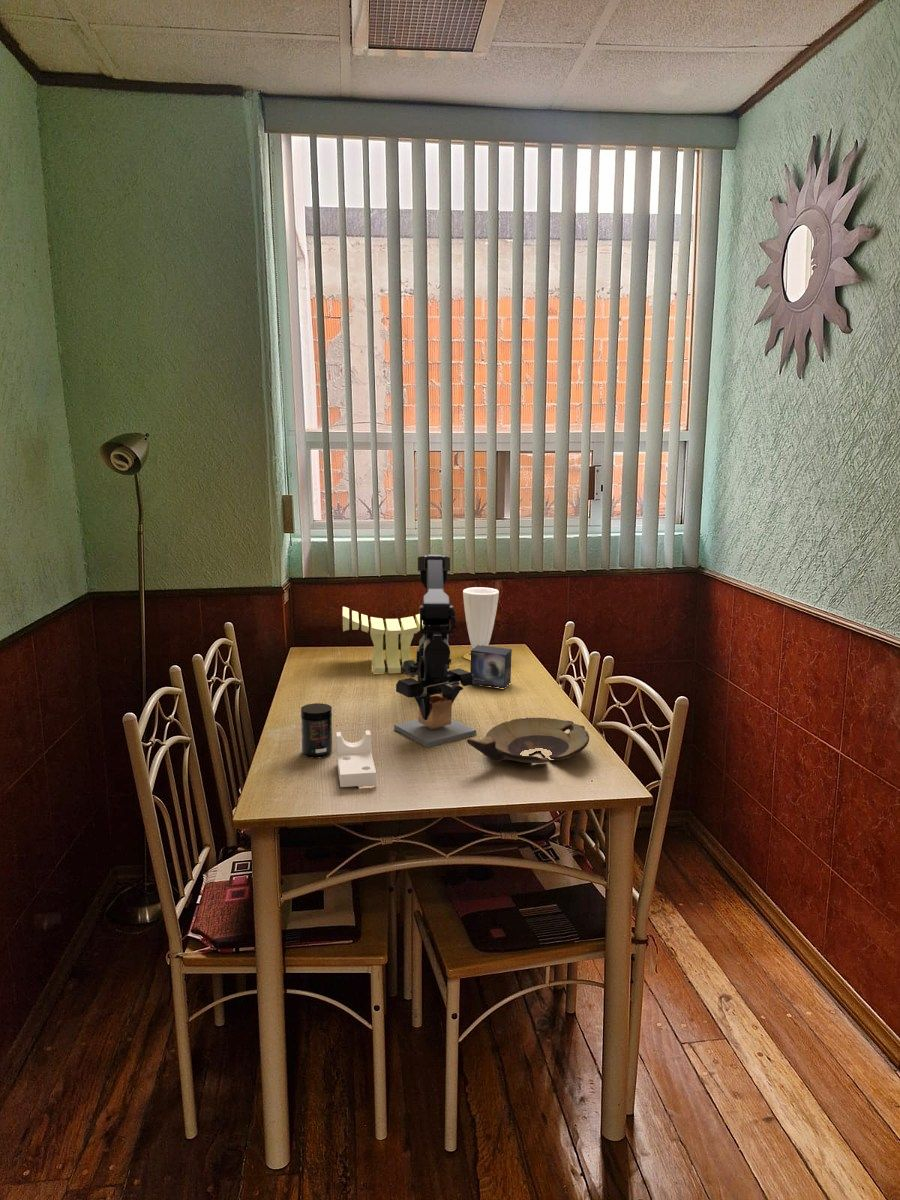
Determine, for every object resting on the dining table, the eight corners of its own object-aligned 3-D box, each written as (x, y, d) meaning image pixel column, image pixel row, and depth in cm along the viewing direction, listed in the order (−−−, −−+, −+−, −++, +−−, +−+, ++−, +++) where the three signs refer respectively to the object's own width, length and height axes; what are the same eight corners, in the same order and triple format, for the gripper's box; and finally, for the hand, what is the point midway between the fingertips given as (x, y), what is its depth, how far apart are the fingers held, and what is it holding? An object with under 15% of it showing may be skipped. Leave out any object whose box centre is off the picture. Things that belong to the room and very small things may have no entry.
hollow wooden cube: (437, 717, 196) (437, 693, 195) (451, 724, 191) (451, 700, 190) (418, 722, 193) (418, 697, 191) (431, 729, 188) (432, 704, 187)
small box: (468, 685, 229) (469, 649, 227) (476, 679, 235) (477, 644, 233) (504, 690, 225) (505, 653, 223) (511, 683, 231) (512, 648, 229)
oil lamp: (608, 770, 172) (610, 736, 170) (472, 782, 165) (473, 747, 163) (568, 733, 193) (570, 702, 192) (446, 742, 186) (447, 711, 185)
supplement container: (325, 745, 183) (324, 701, 181) (337, 755, 178) (337, 710, 176) (297, 751, 180) (295, 706, 178) (308, 761, 174) (307, 715, 172)
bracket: (336, 765, 173) (336, 732, 171) (369, 763, 174) (369, 730, 173) (340, 791, 160) (340, 755, 159) (376, 789, 162) (376, 753, 160)
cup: (498, 661, 254) (500, 594, 249) (461, 661, 254) (462, 593, 249) (496, 652, 265) (498, 587, 261) (461, 651, 265) (462, 586, 261)
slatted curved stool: (438, 658, 257) (439, 603, 253) (444, 672, 241) (445, 614, 238) (343, 660, 253) (342, 604, 249) (343, 674, 237) (342, 615, 234)
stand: (441, 718, 202) (441, 698, 201) (476, 734, 191) (476, 713, 190) (393, 729, 194) (394, 708, 193) (427, 747, 183) (427, 725, 182)
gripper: (447, 640, 200) (446, 701, 204) (383, 651, 190) (383, 715, 193) (475, 650, 192) (473, 713, 195) (409, 662, 181) (409, 728, 184)
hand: (434, 717), depth 192 cm, fingers closed on hollow wooden cube, 5 cm apart
